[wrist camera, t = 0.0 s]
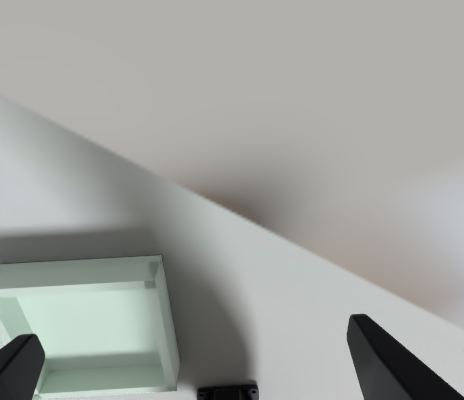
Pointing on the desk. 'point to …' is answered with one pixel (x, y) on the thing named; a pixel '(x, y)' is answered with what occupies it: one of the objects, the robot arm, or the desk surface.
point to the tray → (94, 324)
